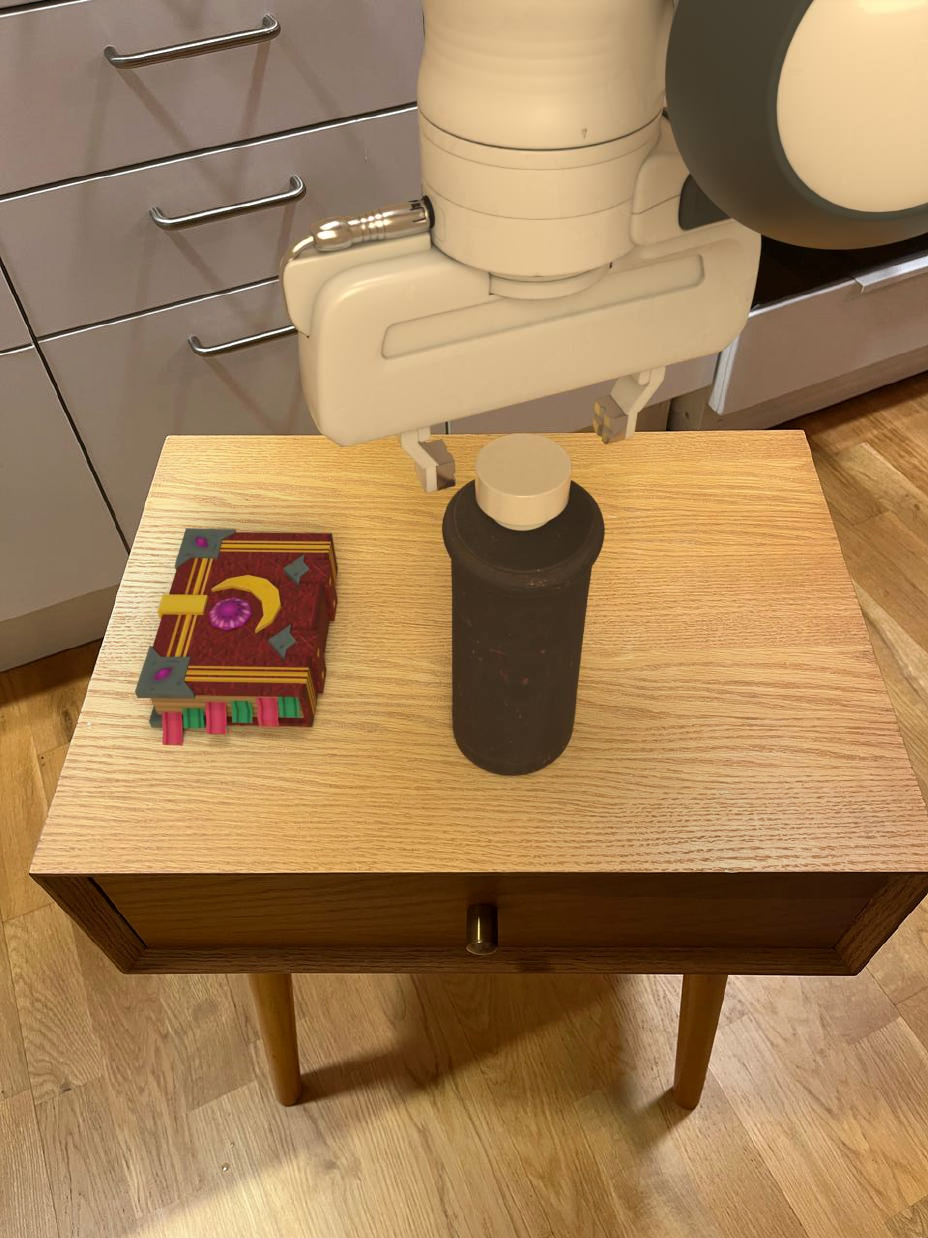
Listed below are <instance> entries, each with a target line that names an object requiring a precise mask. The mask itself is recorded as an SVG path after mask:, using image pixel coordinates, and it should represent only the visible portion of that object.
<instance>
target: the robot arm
mask: <svg viewBox="0 0 928 1238" xmlns="http://www.w3.org/2000/svg"><path fill="white" fill-rule="evenodd" d="M420 4H421V8H422V15H423V28H424V29H423V30H424V32H423V33H424V34H423V35H424V37H423V49H422V50H423V51H422V55H421V61H420V65H419V67H418V74H417V78H416V79H417V80H416V107H417V129H418V130H417V131H418V133H417V134H418V149H419V167H420V188H421V198H420V199H412V200H409V201H405V202H400V203H395V204H390V205H385V206H382V207H378V208H375V209H372V210H370V211H367V212H364V213H359V214H357V215H350V216H345V215H335V216H330V217H325V218H323V219H320V220H318V221H315V222H314V223H311V225H310V227H309V232H310V233H307V234H305V235H303V236H302V237H300V238H299V239H297V240H296V241H294V242H293V243H292V244H291V245H290V246H289V248H288V249H287V250H286V251H285V254H284V255H283V257H282V258H281V260H280V264H279V269H278V283H279V289H280V294H281V299H282V304H283V310H284V314H285V316H286V319H287V320H288V322H289V324H291V326H292V327H293V328H294V329H295V330H296V331H298V357H299V358H298V360H299V371H300V380H301V381H300V382H301V388H302V393H303V396H304V400H305V403H306V405H307V408H308V410H309V413H310V415H311V417H312V420H313V422H314V424H315V426H316V428H317V430H318V431H319V432H320V434H321V435H322V436H323V437H325V438H326V439H328V440H329V441H331V442H333V444H335V445H337V446H339V447H341V448H349V447H354V446H358V445H363V444H366V443H370V442H374V441H377V440H381V439H386V438H390V437H395V438H396V439H397V442H398V443H399V445H400V447H401V449H402V450H403V451H404V452H405V453H406V454H407V455H408V456H409V457H410V458H411V459H412V460H413V461H414V470H415V474H416V477H417V480H418V482H419V484H420V486H421V488H422V490H423V492H424V493H425V495H427V494H431V493H435V492H438V491H442V490H446V489H449V488H453V487H455V486H456V485H457V479H456V477H455V474H456V461H455V459H454V456H453V455H452V453H451V452H449V451H448V447H447V444H446V443H445V441H444V440H443V438H440V439H436V440H431V439H432V436H431V435H432V434H431V433H432V432H431V427H432V426H436V425H440V424H444V423H447V422H452V421H456V420H459V419H463V418H467V417H471V416H475V415H479V414H484V413H487V412H491V411H494V410H498V409H503V408H506V407H510V406H514V405H518V404H521V403H522V404H523V403H526V402H530V401H533V400H537V399H541V398H545V397H549V396H552V395H556V394H561V393H564V392H568V391H572V390H576V389H580V388H584V387H587V386H592V385H596V384H600V383H603V382H607V381H611V380H616V382H615V383H614V385H613V387H612V389H611V390H610V392H609V394H608V395H604V396H600V397H597V398H594V402H593V411H594V414H593V416H592V422H591V423H592V427H593V430H594V433H595V434H596V435H597V436H598V437H601V440H600V441H601V442H602V443H603V444H604V445H610V444H613V443H618V442H622V441H626V440H630V439H633V438H634V436H635V434H636V433H635V432H636V426H637V421H638V413H641V411H642V410H643V409H644V407H645V406H646V404H647V403H648V402H649V400H650V399H651V398H652V397H653V395H654V394H655V393H656V391H657V389H659V387H660V386H661V385H662V384H663V382H664V381H665V376H666V371H667V366H669V365H674V364H678V363H681V362H685V361H689V360H693V359H697V358H701V357H704V356H709V355H713V354H718V353H721V352H724V351H725V350H727V348H729V346H730V345H732V343H733V342H734V341H735V340H736V338H738V336H739V335H740V334H741V333H742V331H743V330H744V329H745V327H746V325H747V322H748V320H749V317H750V312H751V307H752V304H753V299H754V294H755V290H756V286H757V285H756V284H757V278H758V272H759V267H760V258H761V252H762V251H761V250H762V236H764V237H767V238H769V239H772V240H775V241H778V242H781V243H785V244H789V245H794V246H798V247H804V248H809V249H817V250H856V249H857V250H859V249H866V248H867V249H868V248H874V247H879V246H884V245H890V244H895V243H898V242H902V241H905V240H909V239H912V238H915V237H918V236H921V235H923V234H926V233H928V0H420ZM311 246H313V248H310V247H311ZM308 248H310V249H308ZM430 440H431V441H430Z"/></svg>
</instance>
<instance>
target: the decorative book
mask: <svg viewBox="0 0 928 1238" xmlns="http://www.w3.org/2000/svg"><path fill="white" fill-rule="evenodd" d="M333 537H334V536H333V533H332V532H268V531H267V532H264V531H263V532H261V531H260V532H259V531H258V532H255V531H253V532H252V531H250V532H249V531H237V529H235V528H195V527H194V528H193V527H192V528H190V527H189V528H188V527H186V528H185V530H184V533H183V537H182V540H181V544H180V545H179V546H180V547H179V550H178V553H177V556H176V559H175V563H174V569H175V573H174V576H173V579H172V583H171V586H170V589H169V592H168V594H167V593H166V594H165V593H164V594H162V596H161V598H160V601H159V605H158V608H157V611H156V612H157V615H158V617H159V619H160V622H159V625H158V627H157V630H156V635H155V637H154V641H153V644H152V645H149V646H148V649H147V652H146V656H145V658H144V662H143V665H142V668H141V671H140V674H139V678H138V680H137V684H136V687H135V690H134V693H135V695H136V697H137V699H150V700H151V702H152V705H153V707H152V710H151V714H150V715H149V716H150V717H149V720H148V723H149V725H150V727H151V728H155V729H157V728H160V729H162V743H161V744H162V746H183V738H184V737H183V735H184V733H183V731H184V730H183V729H205V735H227V726H239V727H240V726H241V727H263V728H264V727H267V728H268V727H270V728H272V727H273V728H276V727H277V728H280V727H287V728H288V727H291V728H293V727H294V728H296V727H297V728H313V726H314V725H313V724H314V719H315V714H316V708H317V707H316V706H317V701H318V694H324V688H325V682H326V676H327V666H326V665H327V664H326V660H325V651H326V646H327V638H328V633H329V626H330V622H335V619H336V613H337V607H338V606H337V605H338V594H337V589H336V584H337V583H336V582H337V577H338V571H339V568H338V561H337V555H336V550H335V542H334V538H333Z"/></svg>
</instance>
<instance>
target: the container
mask: <svg viewBox="0 0 928 1238" xmlns="http://www.w3.org/2000/svg"><path fill="white" fill-rule="evenodd" d="M441 534H442V540H443V545H444V548H445V549H446V552H447V555H448V557H449V558H450V571H451V572H450V575H451V719H452V732H453V737H454V740H455V741H454V742H455V743H456V745H457V747H458V749H459V750H460V752H461V753H462V754H463V756H464V757H465V758H466V760H468V761H469V762H470V763H472V764H473V765H474V766H476V767H478V768H479V769H481V770H483V771H486V772H488V773H491V774H495V775H498V776H506V777H516V776H517V777H518V776H525V775H529V774H533V773H536V772H538V771H540V770H543V769H545V768H546V767H548V766H549V765H551V764H552V763H554V762H555V761H556V760H558V759H559V757H560V756H561V755H562V754H563V753H564V752H565V750H566V748H567V746H568V745H569V743H570V740H571V738H572V735H573V732H574V725H575V720H576V719H575V718H576V710H577V697H578V686H579V678H580V669H581V662H582V661H581V660H582V651H583V642H584V633H585V626H586V616H587V610H588V609H587V608H588V599H589V592H590V586H591V578H592V572H593V566H594V565H595V563H596V562H597V560H598V558H599V556H600V554H601V551H602V548H603V545H604V540H605V534H606V526H605V521H604V516H603V513H602V510H601V508H600V506H599V504H598V502H597V501H596V500H595V498H594V497H593V496H592V495H591V493H589V492H588V491H587V490H586V489H585V488H584V487H583V486H581V485H580V484H579V483H577V482H576V481H574V480H573V479H571V482H570V493H569V500H568V503H567V505H566V507H565V508H564V510H563V511H562V512H561V513H560V514H559V515H557V516H556V517H554V518H553V519H551V520H549V521H548V522H547V523H546V524H544V525H543V526H541V527H539V528H536V529H532V530H523V531H521V530H512V529H509V528H506V527H504V526H502V525H500V524H498V523H497V522H496V521H495V520H494V519H493V518H491V517H490V516H488V515H487V514H486V513H485V512H484V511H483V510H482V509H481V508H480V506H479V505H478V503H477V501H476V497H475V478H474V479H472V480H470V481H468V482H467V483H465V484H464V485H463V486H462V487H461V488H460V489H458V490H457V491H456V492H455V493H454V495H453V496H452V497H451V499H450V500H449V502H448V503H447V505H446V508H445V510H444V514H443V516H442V523H441Z"/></svg>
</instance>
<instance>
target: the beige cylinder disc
mask: <svg viewBox="0 0 928 1238" xmlns="http://www.w3.org/2000/svg"><path fill="white" fill-rule="evenodd" d="M572 470H573V462H572V459H571V456H570V455H569V453H568V451H567V450H566V449H565V448H564V447H563V445H561V444H560V443H558V442H557V441H555V440H554V439H551V438H549V437H547V436H543V435H540V434H536V433H530V432H529V433H528V432H519V433H517V432H515V433H510V434H504V435H502V436H498V437H495V438H494V439H492V440H490V441H489V442H487V443H485V445H484V446H483V447H481V449H480V450H479V451H478V453H477V455H476V457H475V461H474V479H475V497H476V501H477V503H478V505H479V506H480V508H481V509H482V510H483V511H484V512H485V513H486V514H487V515H488V516H490V517H491V518H493V519H494V520H495V521H496V522H497V523H498V524H500V525H502V526H504V527H506V528H509V529H512V530H521V531H523V530H532V529H536V528H539V527H541V526H543V525H544V524H546V523H547V522H548V521H549V520H551V519H553V518H554V517H556V516H557V515H559V514H560V513H561V512H562V511H563V510H564V508H565V507H566V505H567V503H568V500H569V493H570V482H571V480H572Z"/></svg>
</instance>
